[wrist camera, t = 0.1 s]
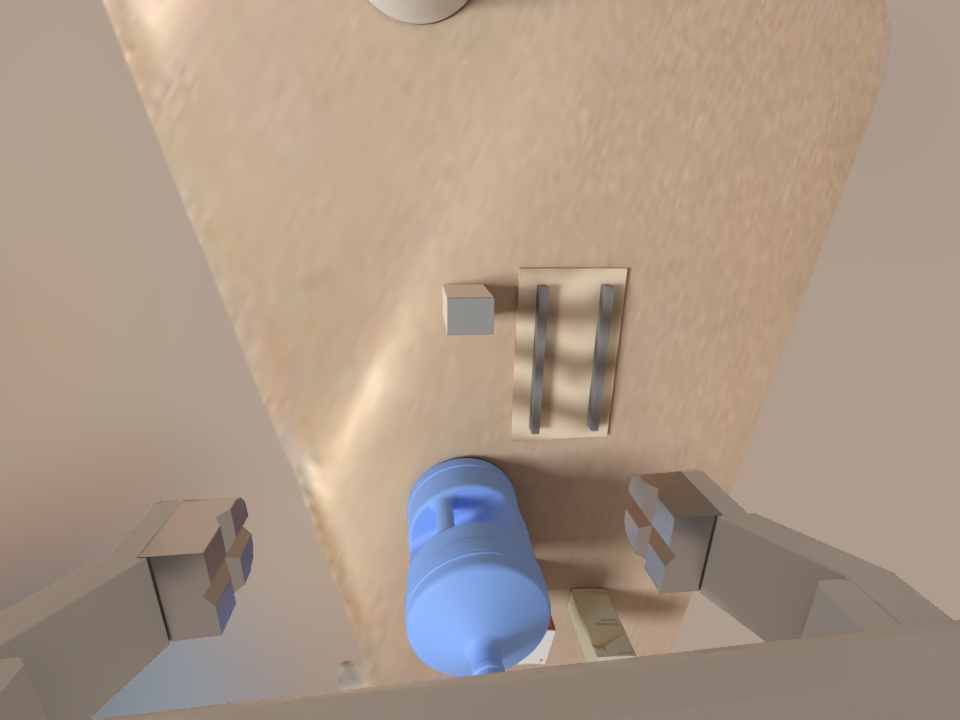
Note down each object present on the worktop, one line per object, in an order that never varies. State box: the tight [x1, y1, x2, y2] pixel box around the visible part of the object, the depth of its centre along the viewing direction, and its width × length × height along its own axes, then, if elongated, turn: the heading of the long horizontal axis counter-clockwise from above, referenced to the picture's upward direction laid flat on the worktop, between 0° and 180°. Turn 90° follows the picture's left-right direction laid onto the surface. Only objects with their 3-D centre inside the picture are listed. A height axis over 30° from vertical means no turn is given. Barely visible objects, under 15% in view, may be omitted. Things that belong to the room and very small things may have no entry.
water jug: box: [405, 458, 551, 677], centre depth 54 cm, size 16×16×28 cm
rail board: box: [511, 268, 627, 441], centre depth 60 cm, size 24×14×3 cm, turn 179°
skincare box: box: [568, 589, 636, 662], centre depth 71 cm, size 6×4×12 cm
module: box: [443, 284, 494, 335], centre depth 53 cm, size 4×5×9 cm
